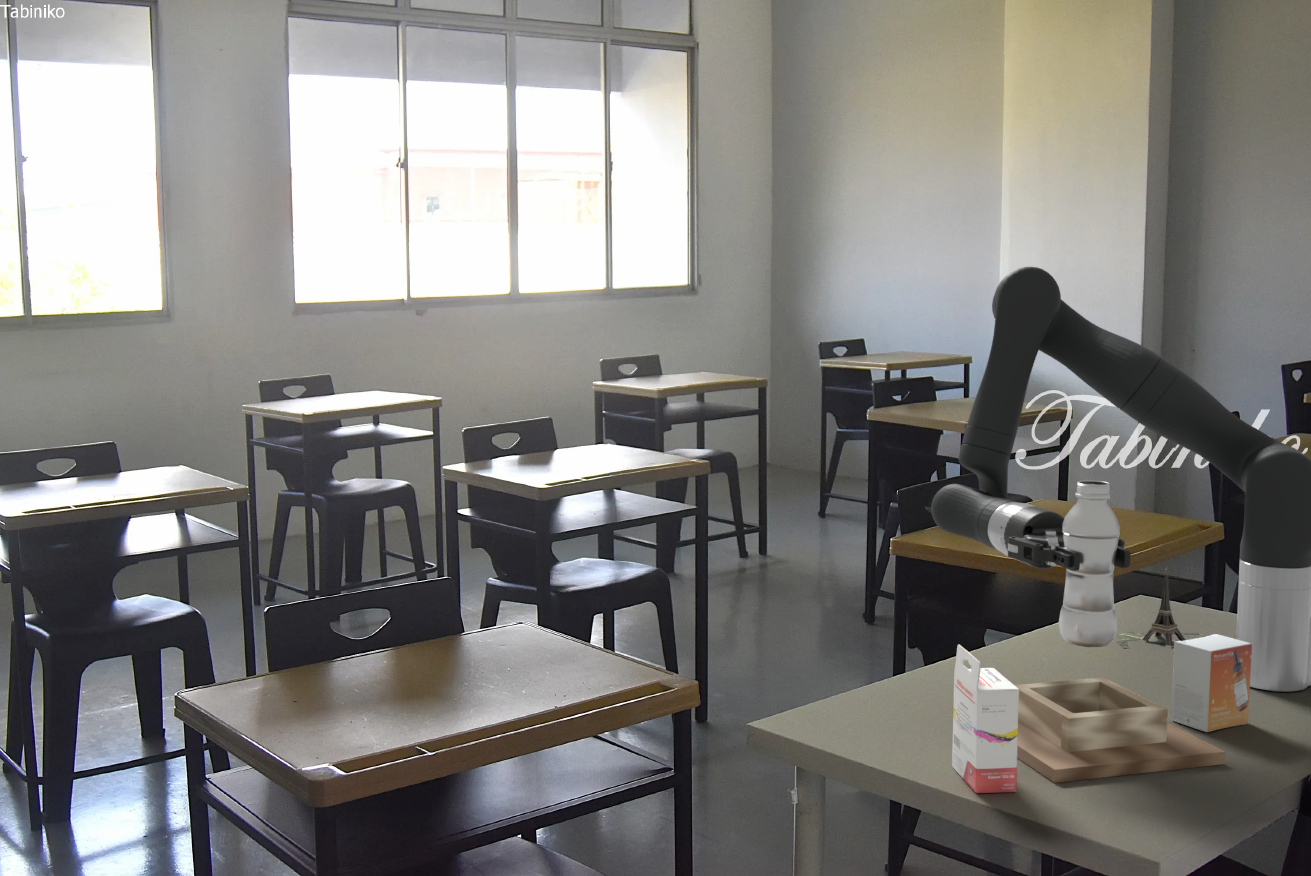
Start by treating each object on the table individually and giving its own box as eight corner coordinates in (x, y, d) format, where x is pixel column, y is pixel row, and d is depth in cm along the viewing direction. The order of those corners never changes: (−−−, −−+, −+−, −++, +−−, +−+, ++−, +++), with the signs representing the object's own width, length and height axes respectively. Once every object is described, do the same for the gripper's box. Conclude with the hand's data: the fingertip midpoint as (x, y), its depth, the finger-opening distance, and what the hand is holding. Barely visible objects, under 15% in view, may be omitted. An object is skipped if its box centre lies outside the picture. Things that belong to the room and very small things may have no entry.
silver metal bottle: (1120, 654, 148) (1128, 487, 146) (1060, 651, 150) (1067, 486, 147) (1111, 639, 155) (1119, 479, 152) (1054, 636, 156) (1061, 477, 154)
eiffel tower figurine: (1202, 636, 202) (1205, 555, 200) (1224, 654, 192) (1228, 568, 190) (1106, 634, 203) (1109, 553, 202) (1123, 652, 193) (1126, 567, 192)
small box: (1206, 734, 156) (1210, 651, 154) (1169, 720, 160) (1172, 640, 159) (1250, 723, 159) (1253, 642, 158) (1212, 711, 164) (1215, 632, 163)
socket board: (1112, 705, 167) (1113, 664, 166) (1224, 764, 145) (1226, 717, 145) (961, 719, 161) (961, 677, 161) (1054, 782, 140) (1055, 734, 140)
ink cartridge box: (1019, 793, 137) (1022, 662, 136) (975, 794, 137) (977, 663, 135) (992, 764, 146) (994, 640, 144) (950, 766, 146) (952, 642, 144)
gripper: (979, 508, 163) (1049, 532, 146) (1078, 503, 166) (1157, 527, 150) (977, 564, 164) (1046, 595, 147) (1076, 559, 167) (1154, 588, 151)
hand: (1102, 560), depth 149 cm, fingers closed on silver metal bottle, 6 cm apart
